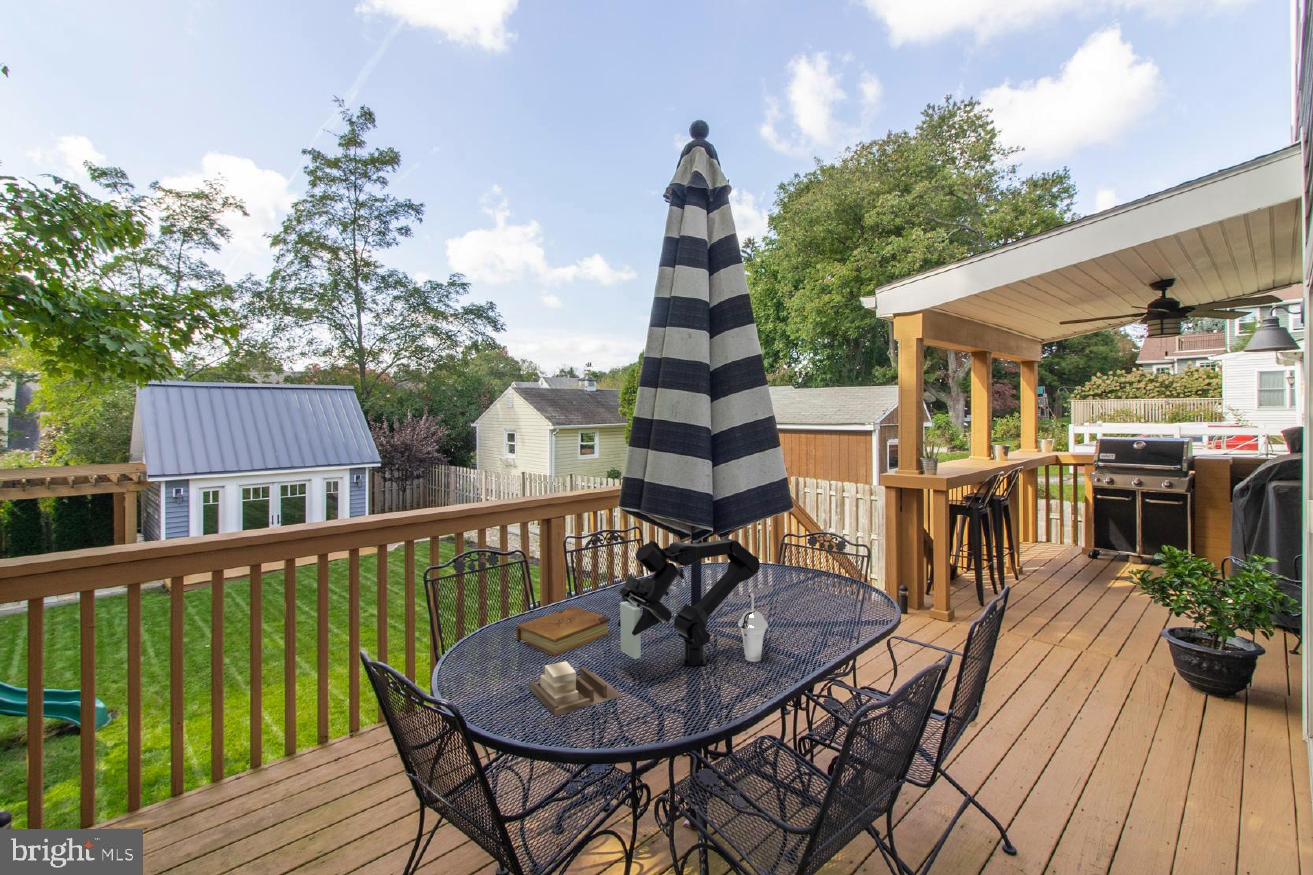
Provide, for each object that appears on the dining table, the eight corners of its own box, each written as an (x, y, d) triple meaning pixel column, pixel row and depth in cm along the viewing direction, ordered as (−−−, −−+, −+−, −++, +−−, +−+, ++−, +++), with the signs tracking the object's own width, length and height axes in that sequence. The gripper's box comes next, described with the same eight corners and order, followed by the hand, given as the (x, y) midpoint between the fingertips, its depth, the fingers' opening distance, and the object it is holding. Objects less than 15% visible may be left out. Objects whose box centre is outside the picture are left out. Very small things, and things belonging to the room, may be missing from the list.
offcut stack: (564, 686, 149) (563, 659, 149) (579, 701, 142) (579, 671, 141) (539, 693, 145) (539, 665, 145) (554, 708, 138) (554, 678, 138)
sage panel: (627, 648, 158) (626, 601, 158) (640, 657, 152) (640, 608, 152) (620, 650, 157) (620, 602, 157) (634, 659, 151) (633, 609, 151)
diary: (572, 622, 200) (572, 606, 200) (610, 635, 188) (610, 618, 187) (516, 642, 183) (516, 624, 182) (554, 658, 170) (554, 638, 170)
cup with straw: (773, 658, 168) (773, 589, 167) (755, 667, 162) (755, 596, 161) (749, 650, 174) (749, 583, 173) (730, 659, 168) (730, 590, 167)
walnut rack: (593, 675, 158) (593, 661, 158) (623, 698, 144) (622, 683, 144) (529, 692, 148) (529, 678, 148) (555, 719, 134) (555, 703, 134)
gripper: (624, 557, 164) (590, 603, 158) (661, 572, 148) (624, 623, 142) (648, 581, 168) (615, 626, 163) (686, 597, 153) (652, 648, 147)
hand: (625, 630), depth 154 cm, fingers closed on sage panel, 7 cm apart
